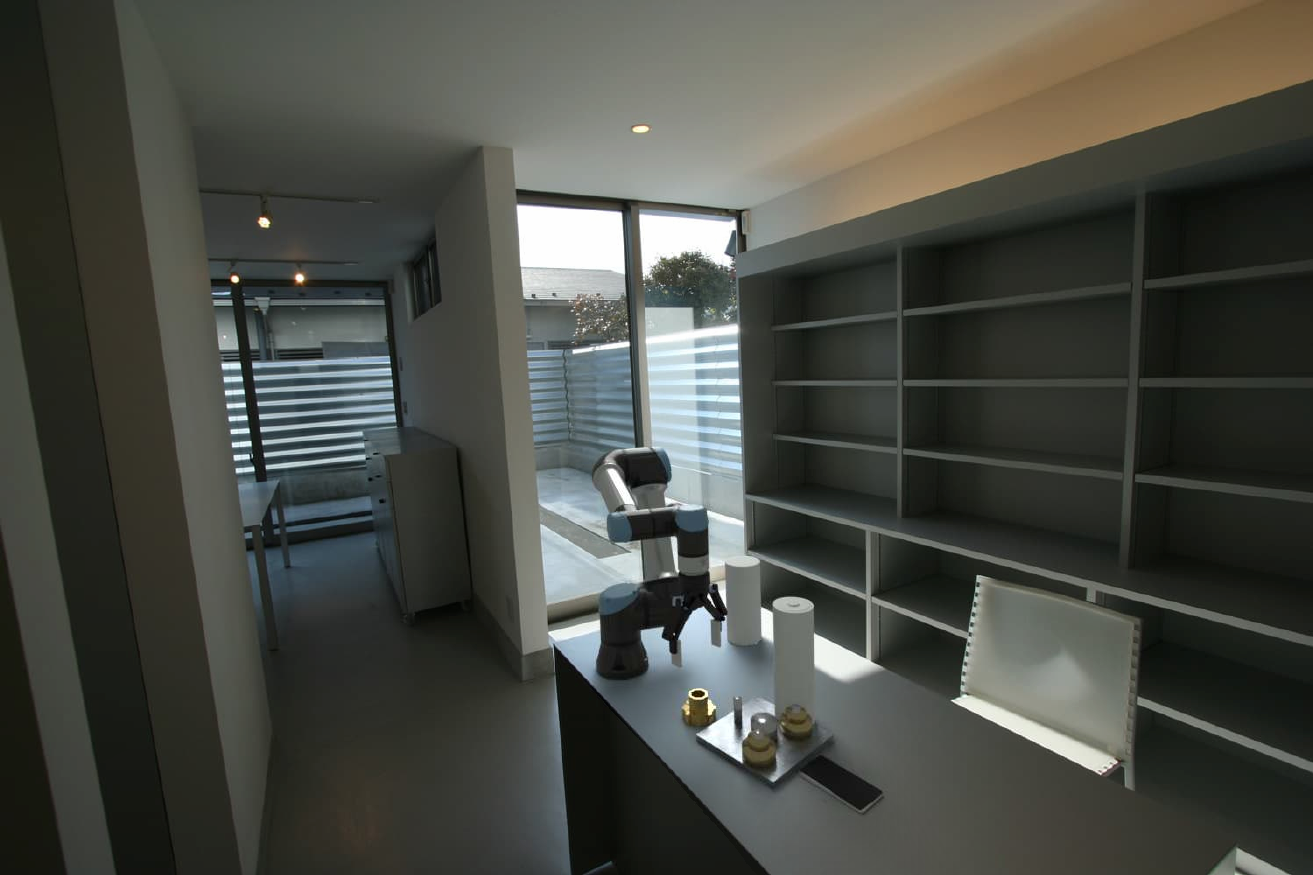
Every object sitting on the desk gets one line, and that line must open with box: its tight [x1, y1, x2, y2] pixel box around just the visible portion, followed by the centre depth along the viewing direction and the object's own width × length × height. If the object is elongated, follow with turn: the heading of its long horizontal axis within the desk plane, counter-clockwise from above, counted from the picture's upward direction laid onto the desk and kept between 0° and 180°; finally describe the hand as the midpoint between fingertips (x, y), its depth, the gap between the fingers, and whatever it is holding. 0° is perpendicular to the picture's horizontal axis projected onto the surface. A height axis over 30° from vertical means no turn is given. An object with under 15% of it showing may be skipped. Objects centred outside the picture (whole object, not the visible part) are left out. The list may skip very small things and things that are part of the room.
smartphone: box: [798, 754, 884, 814], centre depth 121 cm, size 8×1×15 cm
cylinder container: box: [772, 596, 816, 725], centre depth 141 cm, size 9×9×30 cm
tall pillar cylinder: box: [724, 555, 762, 647], centre depth 184 cm, size 11×11×25 cm
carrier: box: [695, 695, 835, 790], centre depth 135 cm, size 22×22×7 cm
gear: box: [681, 688, 717, 728], centre depth 145 cm, size 8×8×6 cm
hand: (697, 655), depth 144 cm, fingers open, 13 cm apart
